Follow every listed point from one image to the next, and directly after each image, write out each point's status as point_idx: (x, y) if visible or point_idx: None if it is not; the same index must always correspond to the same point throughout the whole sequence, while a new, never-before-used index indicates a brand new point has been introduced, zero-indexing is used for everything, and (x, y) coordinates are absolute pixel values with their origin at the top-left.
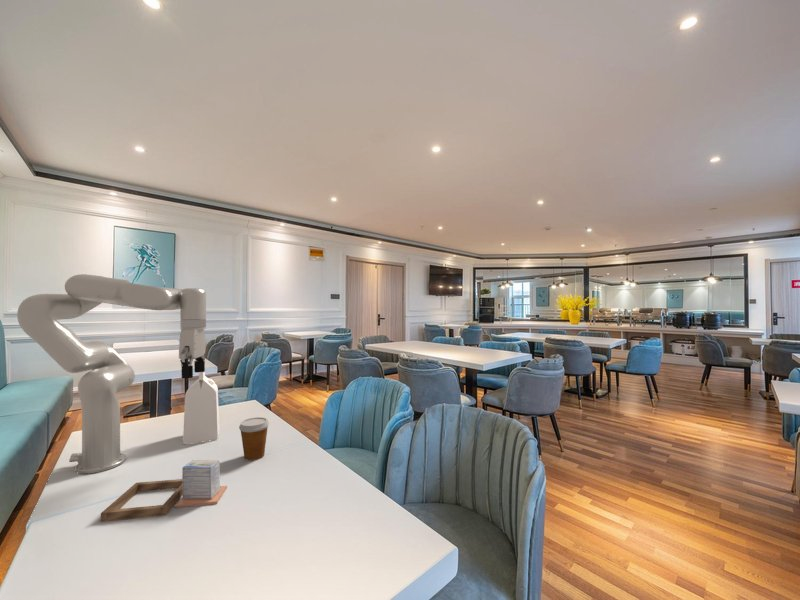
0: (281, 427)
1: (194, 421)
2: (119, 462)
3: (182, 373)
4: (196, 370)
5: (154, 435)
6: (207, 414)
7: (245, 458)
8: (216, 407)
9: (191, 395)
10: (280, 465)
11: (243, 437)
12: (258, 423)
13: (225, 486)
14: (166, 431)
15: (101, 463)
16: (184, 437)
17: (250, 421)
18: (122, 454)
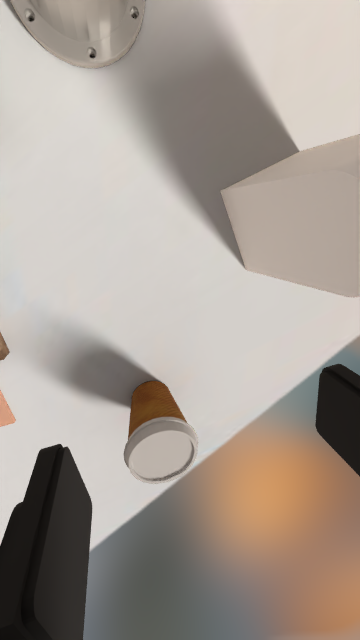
0: (297, 375)
1: (263, 217)
2: (77, 62)
3: (29, 501)
4: (330, 393)
5: (311, 23)
6: (284, 256)
7: (135, 390)
8: (304, 285)
9: (336, 200)
10: (114, 455)
11: (132, 424)
12: (155, 468)
13: (10, 422)
14: (338, 51)
15: (33, 2)
16: (231, 192)
17: (171, 443)
18: (134, 23)
